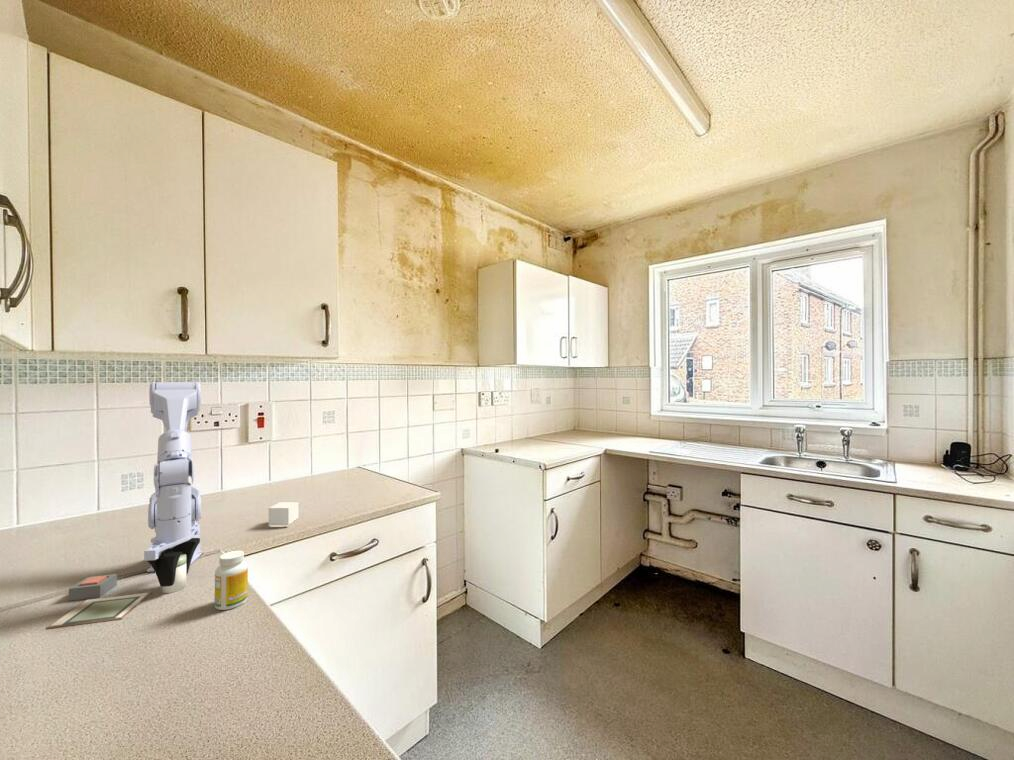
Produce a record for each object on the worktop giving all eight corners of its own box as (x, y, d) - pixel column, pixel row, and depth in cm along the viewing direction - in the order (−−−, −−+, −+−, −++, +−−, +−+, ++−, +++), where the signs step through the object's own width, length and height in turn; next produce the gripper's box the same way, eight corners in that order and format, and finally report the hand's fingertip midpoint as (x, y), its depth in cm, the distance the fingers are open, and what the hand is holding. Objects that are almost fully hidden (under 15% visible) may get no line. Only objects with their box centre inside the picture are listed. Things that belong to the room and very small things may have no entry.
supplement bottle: (208, 611, 77) (208, 561, 77) (225, 597, 82) (225, 549, 82) (238, 610, 77) (238, 559, 77) (253, 595, 83) (253, 548, 83)
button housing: (87, 588, 86) (87, 577, 86) (116, 585, 87) (116, 573, 87) (68, 600, 81) (68, 588, 81) (100, 597, 82) (100, 585, 82)
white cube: (288, 528, 122) (288, 508, 122) (268, 528, 122) (268, 508, 122) (298, 521, 128) (298, 502, 128) (279, 521, 128) (279, 502, 128)
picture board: (86, 600, 81) (86, 599, 81) (151, 593, 84) (151, 591, 84) (46, 628, 72) (46, 627, 72) (121, 619, 75) (121, 617, 75)
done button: (90, 583, 85) (90, 577, 85) (106, 581, 86) (106, 575, 86) (80, 589, 82) (80, 583, 82) (97, 587, 83) (97, 582, 83)
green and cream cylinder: (168, 585, 87) (168, 554, 87) (190, 582, 88) (190, 552, 88) (157, 594, 83) (157, 562, 83) (180, 591, 84) (180, 560, 84)
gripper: (176, 506, 92) (176, 566, 92) (126, 529, 78) (126, 599, 78) (209, 505, 93) (209, 564, 93) (167, 527, 79) (167, 596, 79)
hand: (174, 580), depth 86 cm, fingers closed on green and cream cylinder, 4 cm apart
